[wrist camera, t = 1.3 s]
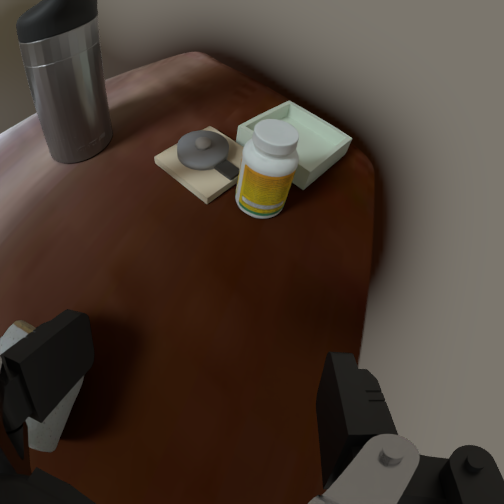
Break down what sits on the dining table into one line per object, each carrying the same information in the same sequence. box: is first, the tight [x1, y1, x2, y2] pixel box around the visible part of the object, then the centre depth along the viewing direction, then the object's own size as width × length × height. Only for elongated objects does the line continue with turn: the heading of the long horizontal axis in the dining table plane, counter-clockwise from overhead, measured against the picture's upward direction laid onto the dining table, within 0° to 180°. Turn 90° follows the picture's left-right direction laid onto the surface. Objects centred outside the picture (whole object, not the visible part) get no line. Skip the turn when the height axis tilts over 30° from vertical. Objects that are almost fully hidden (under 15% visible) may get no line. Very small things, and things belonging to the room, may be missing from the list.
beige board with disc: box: [155, 126, 244, 204], centre depth 35 cm, size 9×9×3 cm
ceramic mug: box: [0, 320, 84, 452], centre depth 17 cm, size 11×8×8 cm
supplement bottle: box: [235, 119, 299, 219], centre depth 30 cm, size 5×5×10 cm
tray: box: [236, 101, 352, 190], centre depth 39 cm, size 11×11×3 cm
